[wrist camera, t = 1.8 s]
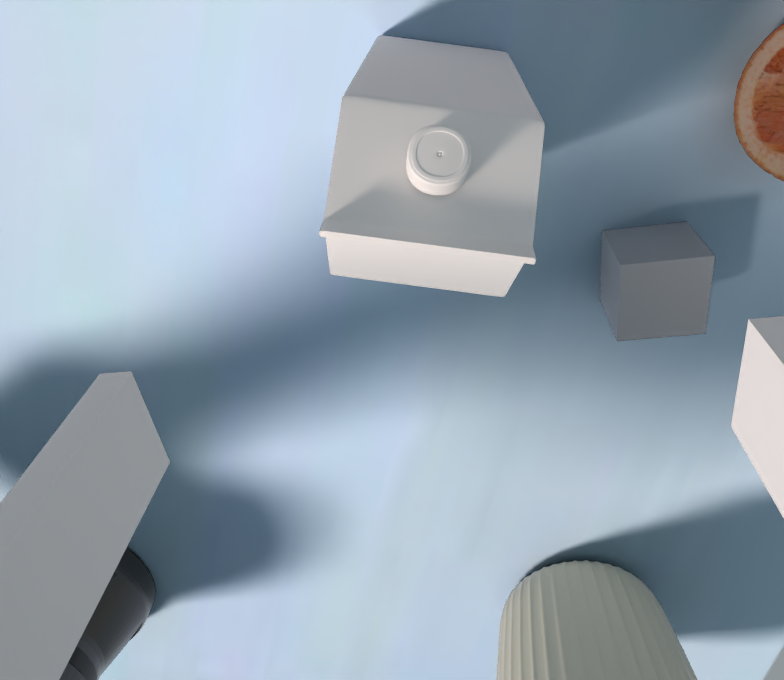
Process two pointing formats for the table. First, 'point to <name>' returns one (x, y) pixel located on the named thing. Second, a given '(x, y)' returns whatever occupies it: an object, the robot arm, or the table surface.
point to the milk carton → (435, 169)
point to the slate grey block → (655, 281)
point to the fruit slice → (763, 105)
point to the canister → (587, 628)
